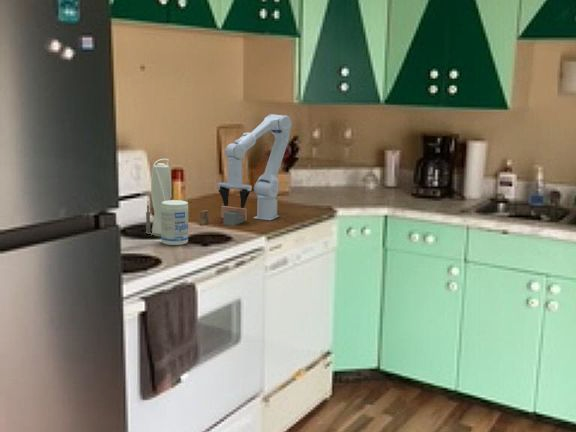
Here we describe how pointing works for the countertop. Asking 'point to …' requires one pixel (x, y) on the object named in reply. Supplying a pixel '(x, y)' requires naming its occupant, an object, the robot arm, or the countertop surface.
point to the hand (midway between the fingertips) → (234, 206)
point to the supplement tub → (174, 222)
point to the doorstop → (232, 218)
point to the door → (241, 211)
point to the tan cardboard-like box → (204, 217)
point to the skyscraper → (158, 195)
